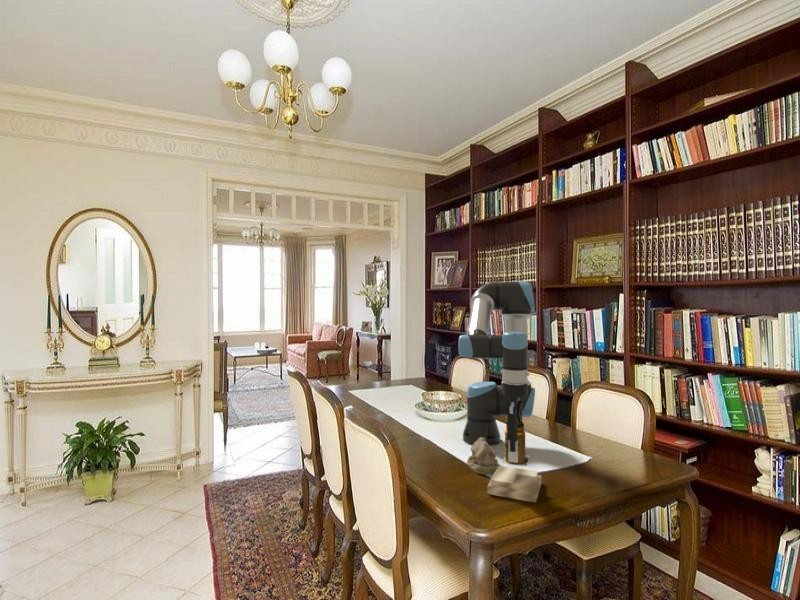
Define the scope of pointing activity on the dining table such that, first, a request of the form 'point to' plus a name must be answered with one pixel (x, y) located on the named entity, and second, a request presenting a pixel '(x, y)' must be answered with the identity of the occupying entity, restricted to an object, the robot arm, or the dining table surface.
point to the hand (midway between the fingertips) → (515, 457)
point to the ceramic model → (482, 458)
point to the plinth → (515, 492)
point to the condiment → (521, 446)
